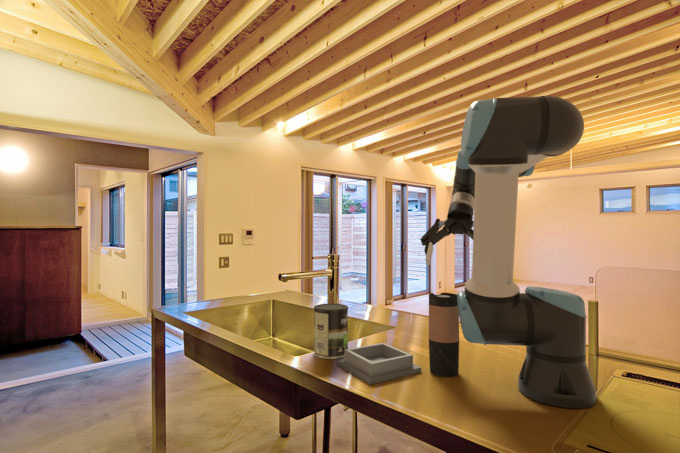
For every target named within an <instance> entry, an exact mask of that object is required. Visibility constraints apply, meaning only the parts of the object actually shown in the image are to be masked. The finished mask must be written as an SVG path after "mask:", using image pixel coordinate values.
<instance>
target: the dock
mask: <svg viewBox="0 0 680 453" xmlns="http://www.w3.org/2000/svg"><path fill="white" fill-rule="evenodd" d="M336 365H337V366H339V367H340V368H342V369H344V370H345V371H347V372H349V373H350V374H352V375H354V376H356V377H357V378H358V379H360V380H362V381H363V382H365V383H366V384H368V385H374V384H378V383H383V382H387V381H391V380H396V379H399V378H402V377H403V378H404V377H407V376H412V375H416V374H419V373H422V367H421V366H419V365H416V364H414V355H413V354H411V353H408V352H406V351H404V350H401V349H399V348H397V347H394V346H392V345H390V344H387V343H384V342H380V343H379V342H378V343H374V344H373V343H372V344H369V345H363V346H357V347H352V348H348V349H345V357H344V358H339V359H336Z"/></svg>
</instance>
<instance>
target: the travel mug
mask: <svg viewBox="0 0 680 453" xmlns="http://www.w3.org/2000/svg"><path fill="white" fill-rule="evenodd" d="M428 353H429V354H428V356H429V358H428V359H429V372H430V374H432V375H434V376H436V377H440V378H455V377H457V376H458V375H459V372H460V371H459V367H460V366H459V365H460V364H459V363H460V318H459V312H458V304H457V294H456V293H452V292H441V293H440V294H435V293H433V292H431V293H429V294H428Z"/></svg>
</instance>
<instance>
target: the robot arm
mask: <svg viewBox="0 0 680 453" xmlns="http://www.w3.org/2000/svg"><path fill="white" fill-rule="evenodd" d="M584 131H585V121H584V118H583V114H582V113H581V111H580V109H578V108H577V106H576V105H574V104H573V103H572V102H571V101H569V100H568V99H566V98H562V97H559V96H555V95H554V96H553V95H539V96H516V97H515V96H514V97H513V96H512V97H510V96H509V97H491V98H487V99H486V98H484V99H479V100H476V101H474V102H472V103H471V104H470V106H469V107H468V109H467V111H466V115H465V119H464V123H463V126H462V133H461V140H460V149H459V151H458V153H457V158H456V161H455V172H454V178H453V185H452V191H451V196H450V201H449V205H448V210H447V216H446V219H445V220H440V218H436V219H435V221H434V223H433V225H432V226H431V227H429V229H428V230H427V231H426V232H425V233H424V234H423V235H422V236H421V238H420V242H421V245H422V246H423V247H424V246H425V247H424V250H423V251H424V255H426V256H425V259H424V260H425V263H426V266H430V265H431V263H432V262H431V261H432V258H433V257H432V256H433V252H434V245H436V244H437V243H439V242H440V241H441V240H442V239H444V238H445V237H449V236H450V235H464V234H465V235H466V236H468V237H469V238H471V239H472V264H471V265H472V268H471V278H469V279H468V280H467V281H466V282H465V283H464V290H461V291H458V292H457V304H458V312H459V325H460V328H461V332H462V335H463V337H464V339H465V340H466V341H467V342H469V343H471V344H481V345H484V346H486V345H494V346H495V345H497V346H498V345H499V346H500V345H501V346H519V347H520V346H522V347H523V346H525V347H526V348H525V349H526V354H525V358H524V361H523V364H522V365H521V369H520V372H519V375H518V377H517V388H518V390H519V392H520V393H521V394H522V395H524V396H525V397H527V398H530V399H531V400H533V401H535V402H539V403H542V404H545V405H549V406H552V407H558V408H565V409H585V408H590V407H593V406H595V405H596V403H597V391H596V388H595V385H594V381H593V379H592V376H591V373H590V371H589V369H588V365H587V359H586V358H587V357H586V356H587V354H586V353H587V350H586V349H587V348H586V347H587V346H586V345H587V334H586V333H587V332H586V330H587V329H586V327H587V326H586V325H587V315H586V306H585V305H586V303H585V300H584V299H583V298H582V297H581V296H580V295H579V294H576V293H572V292H568V291H564V290H558V289H554V288H548V287H541V286H540V287H539V286H531V285H530V286H528V285H527V286H526V287H525V290H524V292H521V289H520V286H519V285H517V284H516V283H515V282H514V263H515V248H516V247H515V246H516V226H517V206H518V192H519V191H518V190H519V178H522V177H523V178H524V177H529V176H531V175H532V174H533V172H534V171H535V167H536V165H538V164H540V163H542V162H543V161H544V160H546V159H548V158H551V157H552V158H554V157H558V156H559V157H560V156H561V155H564V154H566V153H567V152H569V151H570V150H572V149H574V148H575V147H576V146H577V145H578V144H579V143H580V141H581V139H582V137H583V134H584ZM520 292H521V293H520Z"/></svg>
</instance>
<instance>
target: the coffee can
mask: <svg viewBox="0 0 680 453" xmlns="http://www.w3.org/2000/svg"><path fill="white" fill-rule="evenodd" d="M348 312H349V306H348V305H347V304H344V303H342V304H341V303H320V304H317V305H313V313H314V314H313V323H314V324H313V330H314V331H313V333H314V337H313V338H314V339H313V340H314V341H313V342H314V346H313V347H314V348H313V349H314V350H313V354H314V356H315V357H317V358H319V359H324V360H340V359H344V358H345V349H349V342H348V341H349V340H348V339H349V335H348V334H349V324H348V323H349V322H348V321H349V316H348V314H349V313H348ZM314 352H315V353H314Z"/></svg>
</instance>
